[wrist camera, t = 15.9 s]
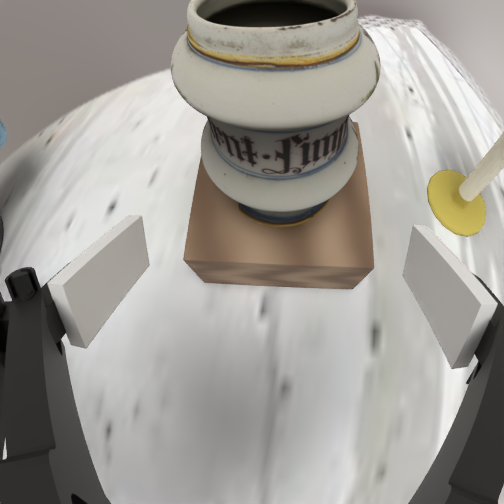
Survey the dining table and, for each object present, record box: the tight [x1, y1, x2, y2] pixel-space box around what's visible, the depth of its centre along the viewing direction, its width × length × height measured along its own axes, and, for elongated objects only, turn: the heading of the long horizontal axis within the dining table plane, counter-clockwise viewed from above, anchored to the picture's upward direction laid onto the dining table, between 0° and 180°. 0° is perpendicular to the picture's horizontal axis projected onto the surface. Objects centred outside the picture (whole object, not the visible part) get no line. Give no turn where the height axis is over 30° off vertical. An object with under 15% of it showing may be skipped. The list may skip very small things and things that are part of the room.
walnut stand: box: [183, 122, 374, 289], centre depth 31 cm, size 16×16×8 cm
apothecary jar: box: [171, 0, 380, 227], centre depth 19 cm, size 12×12×18 cm
